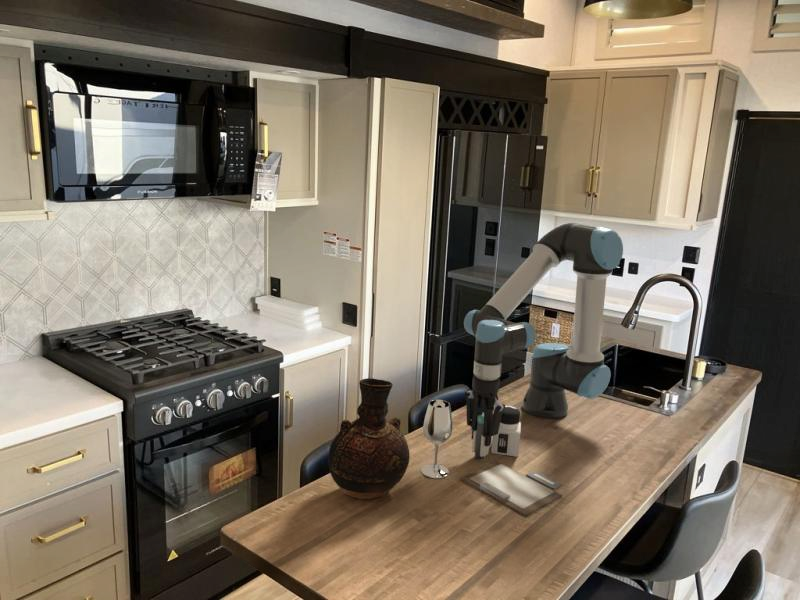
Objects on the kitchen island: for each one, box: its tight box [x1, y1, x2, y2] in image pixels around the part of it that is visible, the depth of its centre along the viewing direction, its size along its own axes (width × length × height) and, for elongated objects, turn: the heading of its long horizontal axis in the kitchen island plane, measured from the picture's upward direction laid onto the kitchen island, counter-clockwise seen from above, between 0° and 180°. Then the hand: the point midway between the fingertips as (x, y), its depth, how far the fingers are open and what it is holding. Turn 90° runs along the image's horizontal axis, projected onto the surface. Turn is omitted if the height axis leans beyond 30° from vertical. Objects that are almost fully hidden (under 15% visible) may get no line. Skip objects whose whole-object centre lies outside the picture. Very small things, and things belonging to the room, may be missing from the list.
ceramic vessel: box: [327, 377, 410, 500], centre depth 161 cm, size 21×18×30 cm
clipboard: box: [459, 461, 563, 518], centre depth 169 cm, size 15×22×2 cm
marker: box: [474, 413, 486, 461], centre depth 184 cm, size 3×3×13 cm
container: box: [491, 405, 522, 458], centre depth 189 cm, size 8×8×13 cm
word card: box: [525, 470, 563, 491], centre depth 174 cm, size 4×9×1 cm, turn 41°
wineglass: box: [420, 399, 453, 479], centre depth 174 cm, size 8×8×20 cm
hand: (480, 452), depth 185 cm, fingers closed on marker, 2 cm apart
